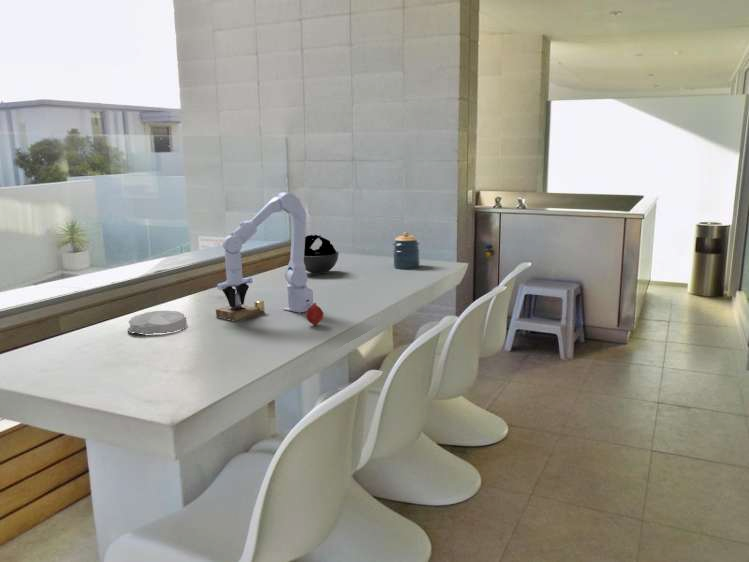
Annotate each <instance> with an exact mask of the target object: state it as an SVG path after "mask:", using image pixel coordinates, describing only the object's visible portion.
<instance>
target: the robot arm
mask: <svg viewBox="0 0 749 562" xmlns="http://www.w3.org/2000/svg"><path fill="white" fill-rule="evenodd" d="M283 211H285V212H286V214H287V215H289V216H290V217H291V218H292V219H291V220H292V222H291V223H292V224H291V238H290V239H291V241H290V256H289V258H290V259H289V262H288V264H287V265H288V266H287V270H285V274H284V276H285V277H284V278H285V280H286V281H287V282H288V283H287V285H286V289H287V291H286V292H287V306H288V307H283V310H285V311H288V312H295V313H300V314H301V312H302V313H305V312H307V310H308V308H309V307H310V306H312V305H313V303H314V292H313V289H311V288H309V287H308V286H307V282H308V275H307V273H306V272H307V271H306V270H305V264H304V249H305V237H306V233H307V232H306V230H307V213H306V211H305V208H304V206H303V205H302V203H301V200H300V198H299V197H297V195H295V193H291V192H286V191H281V192H278V193H277V195H276V196H274V197H272V198H271V199H270V200H269V201H268V202H267V203H266V204H265V205H264V206H263V207H262V208H261V209H260V210H259V211H258V212H257V213H256V215H254V216H253V218H252V219H250V220H244V221H240V223H239V225H238V226H237V228H236V229H235V230H233V231H231V232H230V233H229V234H230V235H227V236H225V237H224V239H223V240H222V248H223V249H224V260H225V261H224V262H225V275H226V280H225V281H223V282H221V283H217V284H216V286H217V288H216V289H217V290H218V291H219V290H220V291H222V292H223V293H224V295H225V297H226V300H227V302H228V306H230V307H235V292H240V295H241V305H245V299H246V295H247V292H248V290H249V287H250V286H249V284H253V277H243V266H242V265H243V263H242V254H241V249H242V247H243V245H244V244H246V243H247V242H248V241H249V239H252V237H253V236H254V235H255V234H256V233H257V229H258V227H259V225H261V224H262V223H263V222H265V221H266V220H267V219H268V218H269V217H270V216H271V215H273V214H274V213H280V212H283Z"/></svg>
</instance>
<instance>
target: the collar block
mask: <svg viewBox="0 0 749 562" xmlns="http://www.w3.org/2000/svg"><path fill="white" fill-rule="evenodd" d="M241 307H242V310H238V311H233V310H232V308H231V307H230V305H228V306H224V307H221V308H216V309H215V315H216V316H215V317H216V318H217V317H221V318H220V319H222V318H225V319H224V320H226V319H230V320H229V321H231V320H234V321H233V322H235V321H239V322H242V321H241V320H243V321H245V320H244V319H246V320H249V318H250V319H252V317H253V318H256V317H255V316H257V317H259V316H260V314H259V309H258V308H256V307H254V306H249V305H245V304H244V305H241Z"/></svg>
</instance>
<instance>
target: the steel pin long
mask: <svg viewBox="0 0 749 562" xmlns="http://www.w3.org/2000/svg"><path fill="white" fill-rule="evenodd" d="M231 308H232V310H233V311H238V310H242V307H241V295H240V292H237V291H236V292H235V307H231Z"/></svg>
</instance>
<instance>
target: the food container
mask: <svg viewBox="0 0 749 562" xmlns="http://www.w3.org/2000/svg"><path fill="white" fill-rule="evenodd" d="M128 324H129V327H128V328H127V332H128V331H129V332H130V333H131V334H133V333H132V332H134V333H143V334H153V333H167V332H174V331H177V330H180V329H183V328H185V329H186V328H187V327H188V326H189V324H188V322H187V317H186V315H185V314H184V313H183V312H181V311H176V310H154V311H149V312H148V311H145V312H144V313H139V314H137V315H134V316H133V317H131V318H130V319H129V320H128ZM183 330H184V329H183ZM129 332H128V333H129Z"/></svg>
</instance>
